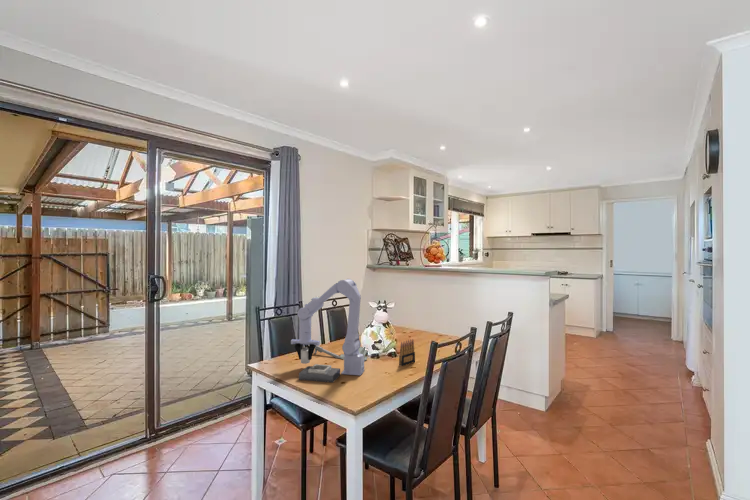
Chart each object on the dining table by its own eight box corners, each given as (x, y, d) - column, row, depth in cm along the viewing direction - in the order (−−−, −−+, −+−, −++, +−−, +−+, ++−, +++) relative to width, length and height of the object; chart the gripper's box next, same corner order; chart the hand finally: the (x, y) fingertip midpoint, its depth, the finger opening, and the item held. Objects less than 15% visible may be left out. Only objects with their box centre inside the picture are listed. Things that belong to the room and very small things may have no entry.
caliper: (311, 353, 202) (311, 342, 202) (312, 353, 203) (313, 342, 203) (340, 359, 191) (340, 347, 191) (341, 358, 192) (341, 347, 192)
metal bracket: (347, 342, 203) (372, 344, 199) (347, 351, 205) (373, 353, 201) (338, 355, 190) (365, 358, 186) (339, 365, 192) (366, 368, 188)
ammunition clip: (412, 360, 188) (412, 338, 188) (415, 361, 187) (415, 338, 187) (399, 365, 181) (399, 341, 181) (401, 366, 179) (401, 342, 180)
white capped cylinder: (311, 361, 177) (311, 347, 177) (307, 363, 173) (307, 349, 173) (302, 360, 178) (303, 346, 178) (299, 363, 174) (299, 348, 174)
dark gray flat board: (340, 375, 166) (340, 365, 166) (333, 382, 156) (333, 372, 156) (307, 372, 169) (307, 362, 169) (298, 379, 159) (298, 369, 159)
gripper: (322, 330, 178) (322, 357, 178) (295, 329, 181) (295, 356, 181) (316, 333, 171) (316, 362, 171) (289, 332, 175) (288, 360, 174)
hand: (305, 359), depth 176 cm, fingers closed on white capped cylinder, 4 cm apart
